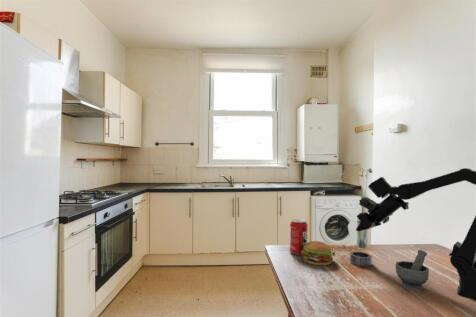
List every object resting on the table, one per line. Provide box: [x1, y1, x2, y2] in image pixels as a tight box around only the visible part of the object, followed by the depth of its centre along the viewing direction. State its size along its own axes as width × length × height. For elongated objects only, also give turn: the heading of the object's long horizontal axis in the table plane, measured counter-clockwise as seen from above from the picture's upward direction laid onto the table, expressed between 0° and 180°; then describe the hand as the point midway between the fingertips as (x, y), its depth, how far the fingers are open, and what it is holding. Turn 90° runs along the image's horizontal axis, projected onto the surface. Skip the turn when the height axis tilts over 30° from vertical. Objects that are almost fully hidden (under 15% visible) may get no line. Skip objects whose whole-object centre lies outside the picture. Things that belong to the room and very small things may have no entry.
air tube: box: [356, 217, 369, 249], centre depth 115 cm, size 4×4×12 cm
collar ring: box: [349, 250, 373, 268], centre depth 114 cm, size 8×8×4 cm
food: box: [301, 240, 336, 267], centre depth 116 cm, size 14×14×8 cm
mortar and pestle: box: [395, 249, 430, 292], centre depth 94 cm, size 11×9×12 cm
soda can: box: [289, 218, 309, 256], centre depth 125 cm, size 8×8×15 cm
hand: (359, 229), depth 116 cm, fingers closed on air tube, 4 cm apart
